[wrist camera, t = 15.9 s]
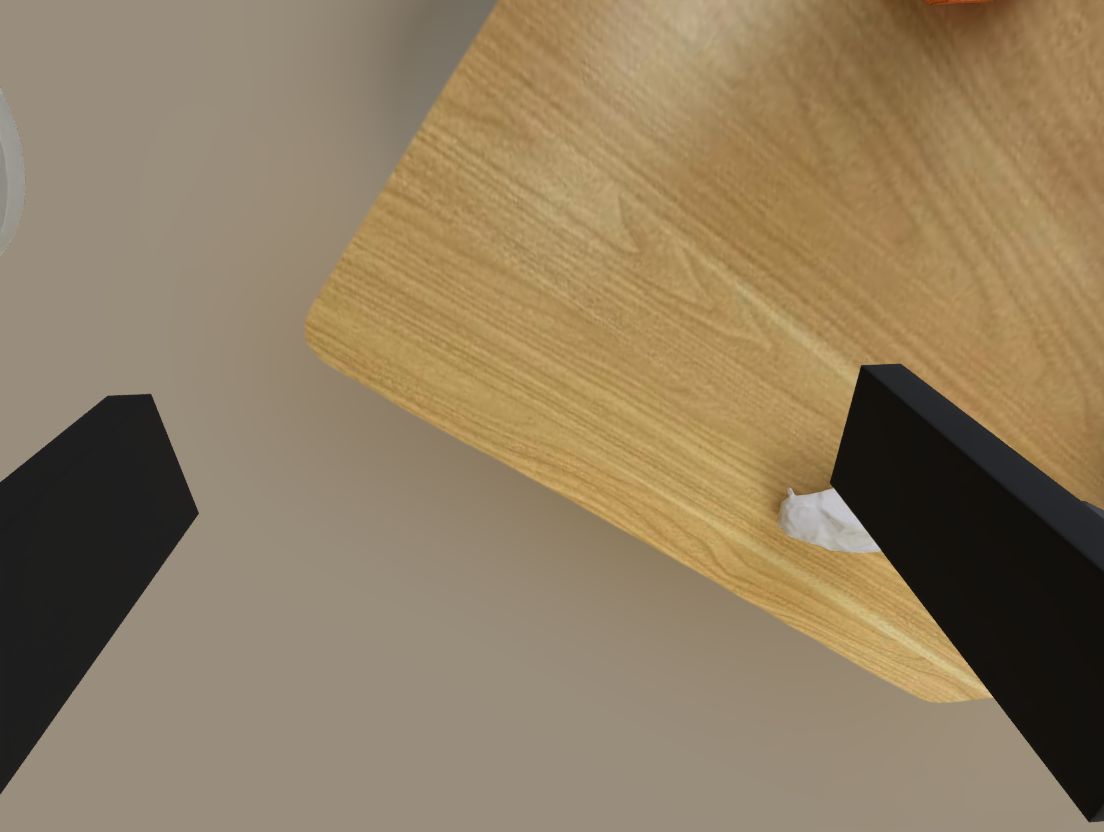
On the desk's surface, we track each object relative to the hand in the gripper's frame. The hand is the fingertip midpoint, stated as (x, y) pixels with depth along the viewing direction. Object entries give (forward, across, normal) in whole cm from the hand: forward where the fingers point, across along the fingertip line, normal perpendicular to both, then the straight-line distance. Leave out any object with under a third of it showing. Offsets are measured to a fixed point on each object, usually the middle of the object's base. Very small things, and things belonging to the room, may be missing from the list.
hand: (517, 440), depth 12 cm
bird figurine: (+29, +25, -26) cm, 46 cm away
